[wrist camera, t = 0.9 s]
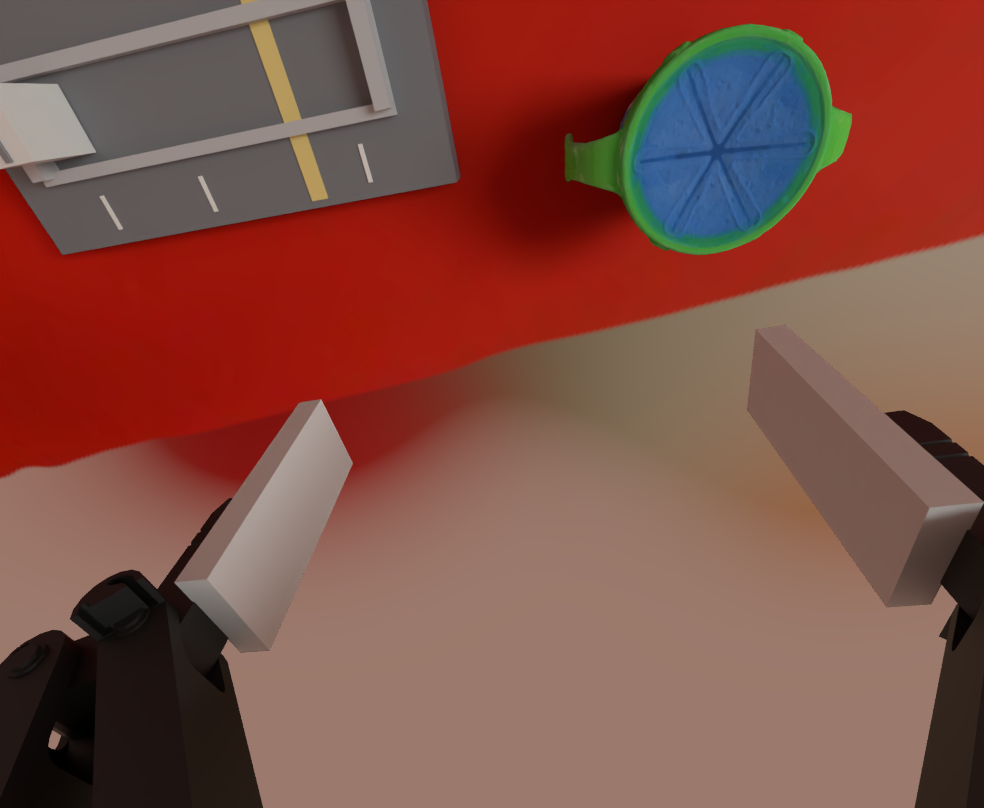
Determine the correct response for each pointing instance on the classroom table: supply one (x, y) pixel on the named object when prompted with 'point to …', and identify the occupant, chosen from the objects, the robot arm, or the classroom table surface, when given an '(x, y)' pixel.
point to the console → (227, 110)
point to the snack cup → (719, 140)
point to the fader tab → (38, 126)
